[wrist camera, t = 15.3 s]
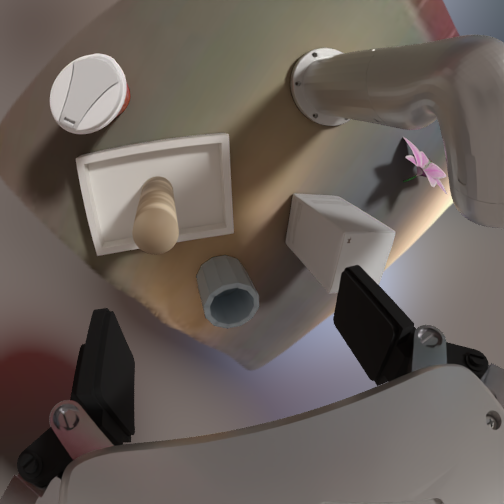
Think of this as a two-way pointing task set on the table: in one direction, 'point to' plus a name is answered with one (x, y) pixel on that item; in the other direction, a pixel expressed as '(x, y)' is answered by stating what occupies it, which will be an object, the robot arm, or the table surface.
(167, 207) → the dowel
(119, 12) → the table surface
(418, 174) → the lily
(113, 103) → the paper cup
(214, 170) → the tray
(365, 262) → the supplement box
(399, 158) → the table surface
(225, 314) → the cup
